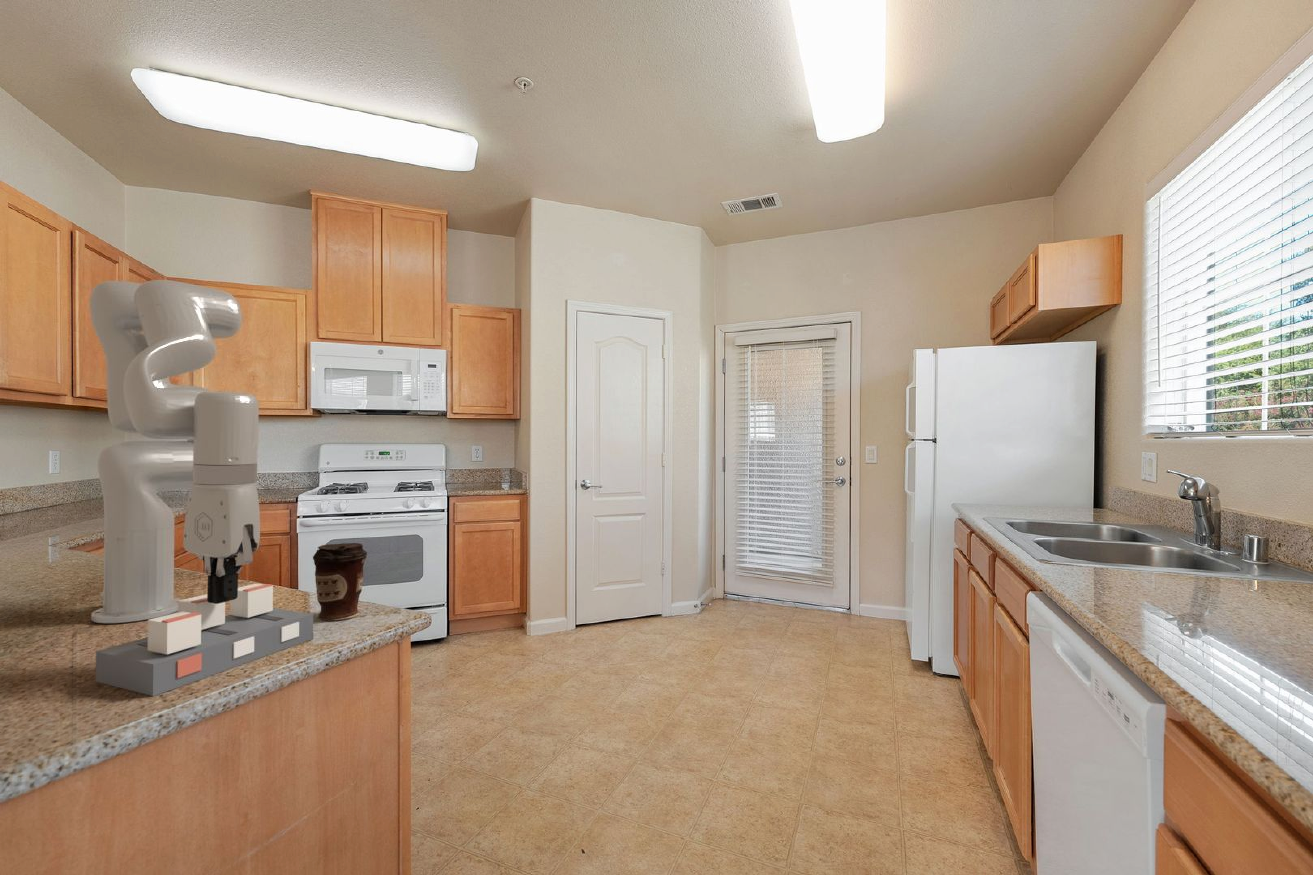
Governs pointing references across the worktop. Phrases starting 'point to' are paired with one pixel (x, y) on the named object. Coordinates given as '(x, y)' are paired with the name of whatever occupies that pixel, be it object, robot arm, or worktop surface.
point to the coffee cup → (339, 579)
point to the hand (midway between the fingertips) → (222, 600)
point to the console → (202, 652)
